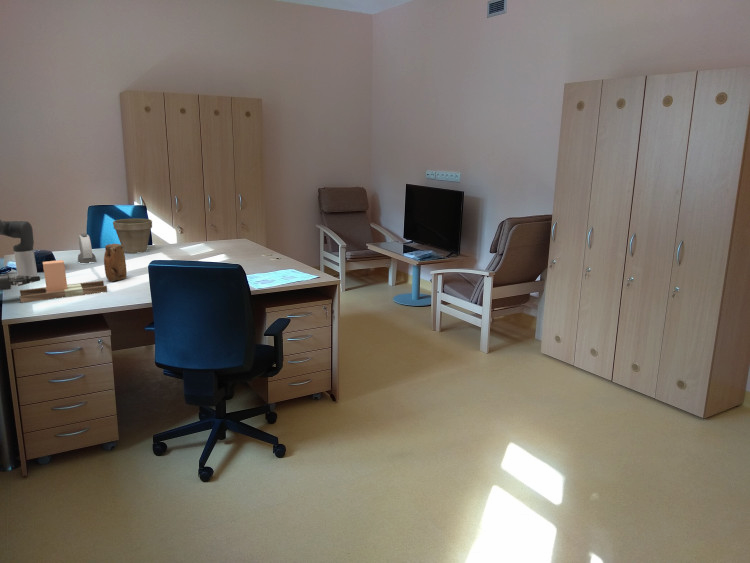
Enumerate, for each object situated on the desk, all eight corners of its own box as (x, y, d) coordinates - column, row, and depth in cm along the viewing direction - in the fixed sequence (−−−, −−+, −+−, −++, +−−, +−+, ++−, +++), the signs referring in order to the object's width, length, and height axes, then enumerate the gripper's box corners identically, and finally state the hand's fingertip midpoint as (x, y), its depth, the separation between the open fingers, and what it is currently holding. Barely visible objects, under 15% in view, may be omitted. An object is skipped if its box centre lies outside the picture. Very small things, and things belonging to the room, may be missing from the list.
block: (117, 276, 318) (114, 242, 313) (128, 277, 316) (125, 243, 311) (104, 281, 308) (99, 246, 303) (115, 282, 306) (111, 246, 301)
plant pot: (162, 249, 397) (159, 218, 392) (140, 255, 374) (137, 224, 369) (131, 247, 403) (128, 217, 397) (108, 254, 380) (104, 222, 374)
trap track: (20, 296, 279) (19, 290, 278) (103, 285, 299) (103, 280, 298) (21, 302, 268) (20, 296, 267) (107, 291, 287) (106, 286, 287)
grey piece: (98, 263, 352) (94, 234, 347) (80, 265, 346) (76, 236, 342) (94, 258, 365) (90, 231, 360) (76, 260, 359) (72, 232, 355)
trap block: (46, 288, 281) (42, 261, 278) (66, 286, 286) (63, 259, 282) (47, 291, 276) (43, 264, 273) (67, 289, 281) (63, 262, 277)
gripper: (-4, 278, 261) (39, 273, 270) (-3, 272, 271) (38, 268, 280) (-1, 293, 262) (41, 288, 271) (-1, 287, 273) (40, 282, 282)
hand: (39, 278), depth 276 cm, fingers closed
